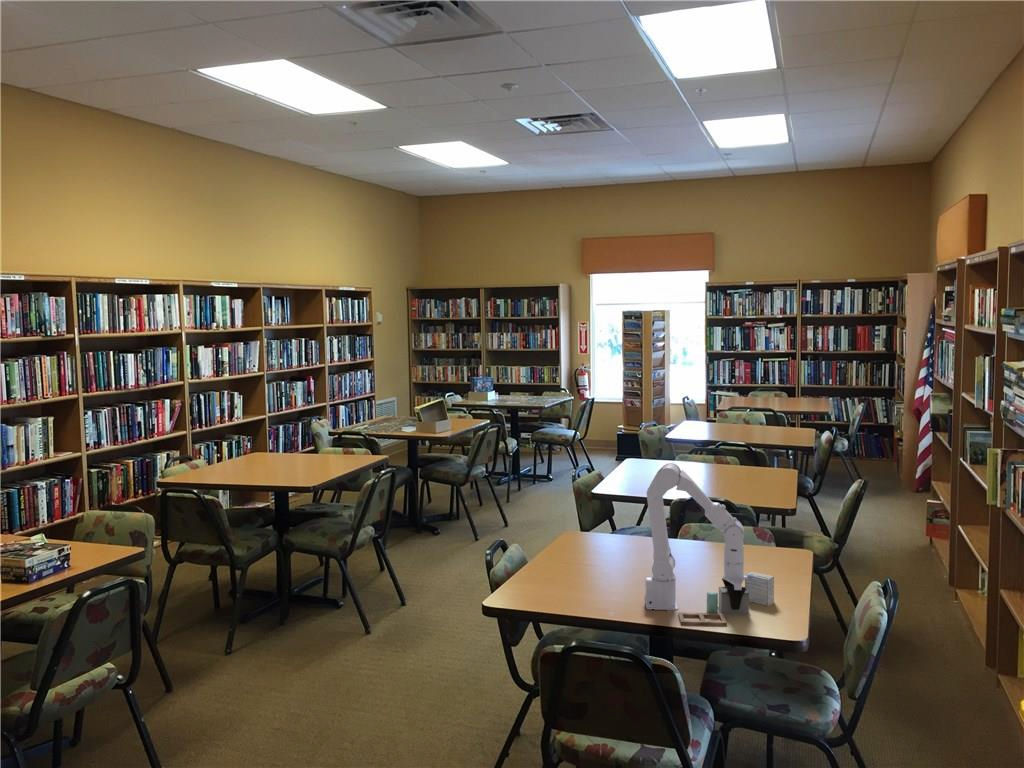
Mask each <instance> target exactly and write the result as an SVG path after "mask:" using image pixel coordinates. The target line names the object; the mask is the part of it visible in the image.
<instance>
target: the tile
mask: <svg viewBox="0 0 1024 768" xmlns="http://www.w3.org/2000/svg"><path fill="white" fill-rule="evenodd" d="M718 613H721V612H720V609H719V606H718ZM723 615H724V616H748V617H749V616H750V617H751V616H752V614H751V613H750V612H749V614H723Z"/></svg>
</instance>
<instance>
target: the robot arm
mask: <svg viewBox="0 0 1024 768" xmlns="http://www.w3.org/2000/svg"><path fill="white" fill-rule="evenodd" d="M675 487H676V488H675ZM673 488H675V490H676V491H682V492H686V493H687V494H688V495H689V496H690V497H691V498H693V500H694V501H695V502H696V503H697V504H699V505H700V507H702V509H704V516H705V517H706V518H707V519H708V521H710V523H712V525H714V526H715V527H716V529H718V531H719V532H722V533H723V537H724V546H723V549H724V550H723V555H724V556H723V575H722V578H721V581H722V582H723V586H724V587H726V588H727V590H728V593H729V597H730V603H731V608H732V610H739V608H740V604H741V600H742V597H743V594H744V593H745V591H746V588H745V586H742V585H743V582H745V579H748V577H747V575H746V574H745V573H744V570H745V569H744V568H745V567H744V566H745V564H744V562H745V561H744V560H745V558H744V557H745V556H744V555H745V553H744V552H745V550H744V549H745V547H744V545H745V544H744V539H745V528H744V526H743V524H742V522H741V521H739V520H738V519H737V518H736V517H735V516H734V517H733V516H732V514H731V513H729V511H728V510H727V509H726V507H727V506H726V505H725V504H721V503H720V502H714V501H712V500H711V499H710V498H709V496H708V495H706V493H705V492H704V491H703V490H702V489H701V488H700V487H699V485H697V483H696V482H695V481H694V480H693V478H691V477H690V476H689V475H688V474H687V472H686V471H684V470H683V469H681V468H680V467H679V465H677V464H676V463H673V462H669V463H665V464H664V465H663V466H662V467H661V468H659V469H658V471H657V472H656V474H655V475H654V477H653V480H652V481H651V482H650V484H649V486H648V487H647V489H646V500H647V508H648V516H649V521H650V523H649V524H650V530H651V539H652V545H653V555H652V556H653V563H652V567H651V574H652V575H651V576H648V577H644V578H645V580H644V598H643V599H644V602H645V607H646V610H652V609H654V610H657V611H659V610H660V611H661V610H662V611H666V610H667V611H668V610H669V611H670V610H671V611H678V610H679V607H678V604H677V599H676V597H677V596H676V592H677V591H676V589H677V588H676V587H677V586H676V582H677V579H676V575H675V574H674V568H676V558H675V557H674V556H673V554H672V550H671V547H670V543H669V536H668V527H667V520H666V513H665V503H664V496H665V494H666V493H668V491H670V490H672V489H673ZM654 610H653V611H654Z"/></svg>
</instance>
